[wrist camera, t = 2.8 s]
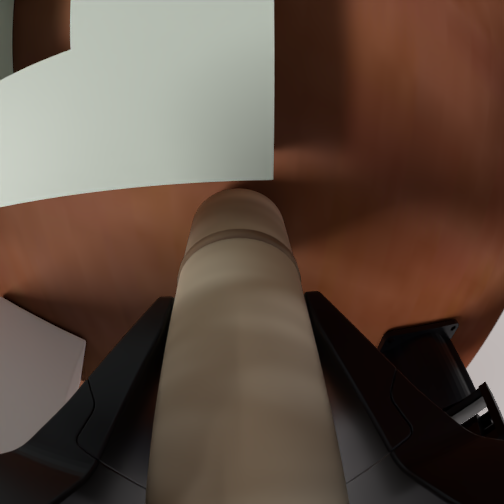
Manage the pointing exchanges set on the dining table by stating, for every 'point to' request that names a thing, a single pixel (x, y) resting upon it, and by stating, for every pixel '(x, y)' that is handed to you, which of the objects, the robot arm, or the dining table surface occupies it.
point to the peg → (242, 371)
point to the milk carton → (33, 373)
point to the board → (140, 99)
